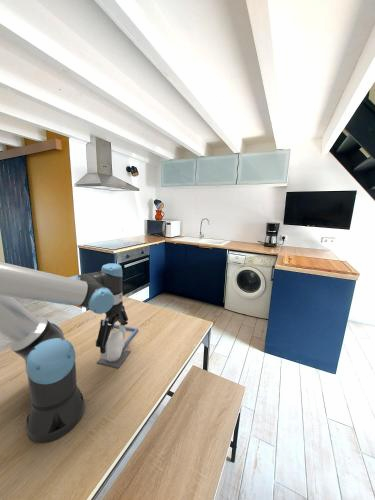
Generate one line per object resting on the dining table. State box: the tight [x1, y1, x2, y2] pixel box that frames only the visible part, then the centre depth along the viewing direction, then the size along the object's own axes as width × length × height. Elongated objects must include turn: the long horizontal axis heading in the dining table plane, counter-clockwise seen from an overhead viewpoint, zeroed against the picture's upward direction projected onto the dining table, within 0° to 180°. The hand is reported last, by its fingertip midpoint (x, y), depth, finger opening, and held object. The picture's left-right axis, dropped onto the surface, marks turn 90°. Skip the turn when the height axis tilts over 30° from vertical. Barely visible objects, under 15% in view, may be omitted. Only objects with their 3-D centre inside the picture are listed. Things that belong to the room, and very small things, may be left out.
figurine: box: [106, 330, 125, 361], centre depth 88 cm, size 7×8×12 cm
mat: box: [96, 349, 131, 369], centre depth 90 cm, size 10×10×1 cm
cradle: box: [95, 323, 139, 350], centre depth 103 cm, size 14×14×2 cm
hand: (114, 347), depth 89 cm, fingers open, 13 cm apart
